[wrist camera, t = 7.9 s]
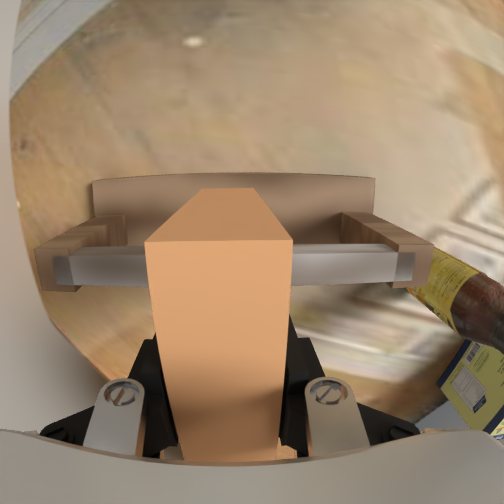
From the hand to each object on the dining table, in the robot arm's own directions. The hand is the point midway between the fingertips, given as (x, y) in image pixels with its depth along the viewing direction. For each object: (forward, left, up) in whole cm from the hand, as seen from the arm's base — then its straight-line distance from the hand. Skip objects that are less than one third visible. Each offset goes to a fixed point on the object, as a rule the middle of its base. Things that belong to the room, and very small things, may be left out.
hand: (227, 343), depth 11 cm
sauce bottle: (+5, +22, -20) cm, 30 cm away
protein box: (+21, +40, -20) cm, 49 cm away
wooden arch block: (0, 0, -8) cm, 8 cm away
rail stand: (0, 0, -20) cm, 20 cm away
